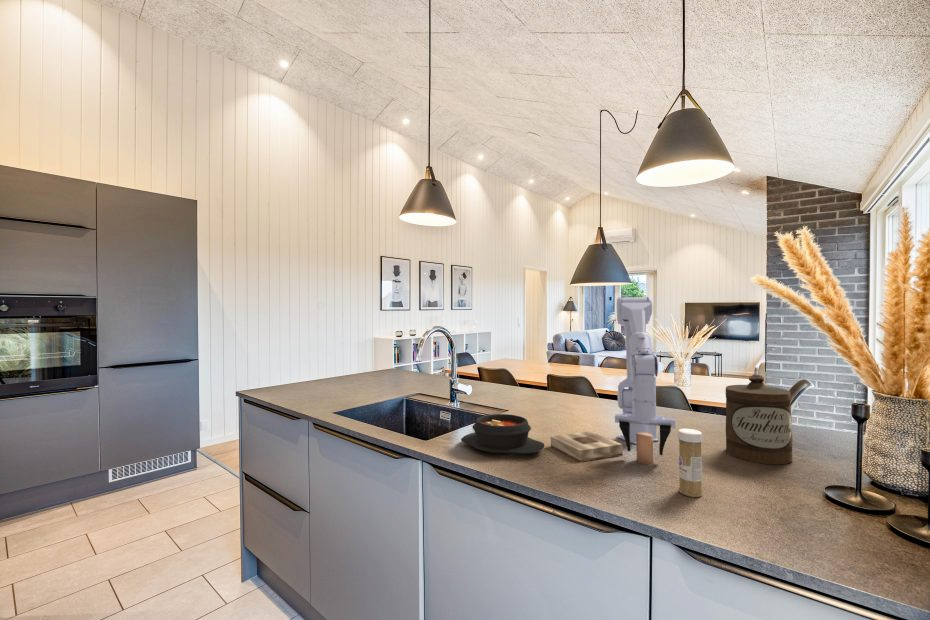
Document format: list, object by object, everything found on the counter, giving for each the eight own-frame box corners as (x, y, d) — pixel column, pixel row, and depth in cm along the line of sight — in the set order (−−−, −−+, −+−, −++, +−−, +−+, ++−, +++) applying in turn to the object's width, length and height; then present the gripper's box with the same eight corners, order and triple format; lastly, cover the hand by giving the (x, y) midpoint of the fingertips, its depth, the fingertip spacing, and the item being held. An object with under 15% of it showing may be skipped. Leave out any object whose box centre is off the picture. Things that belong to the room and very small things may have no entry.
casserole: (554, 447, 122) (554, 418, 122) (527, 466, 106) (526, 433, 106) (481, 434, 136) (481, 408, 136) (448, 449, 120) (447, 420, 120)
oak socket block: (589, 441, 127) (589, 431, 127) (622, 455, 114) (622, 444, 114) (550, 446, 122) (550, 436, 122) (580, 461, 109) (580, 450, 109)
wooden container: (736, 462, 109) (734, 377, 109) (719, 445, 123) (718, 370, 123) (803, 467, 104) (802, 379, 105) (778, 449, 118) (777, 372, 119)
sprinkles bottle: (674, 489, 92) (673, 428, 92) (693, 488, 92) (693, 427, 92) (687, 498, 87) (686, 434, 87) (708, 497, 87) (707, 433, 88)
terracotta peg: (644, 458, 112) (644, 431, 112) (656, 462, 108) (656, 435, 108) (633, 460, 110) (633, 433, 111) (644, 464, 107) (644, 437, 107)
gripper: (613, 401, 109) (614, 453, 109) (675, 405, 103) (676, 460, 103) (615, 396, 115) (616, 445, 115) (674, 400, 109) (674, 452, 109)
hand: (644, 452), depth 109 cm, fingers open, 7 cm apart
